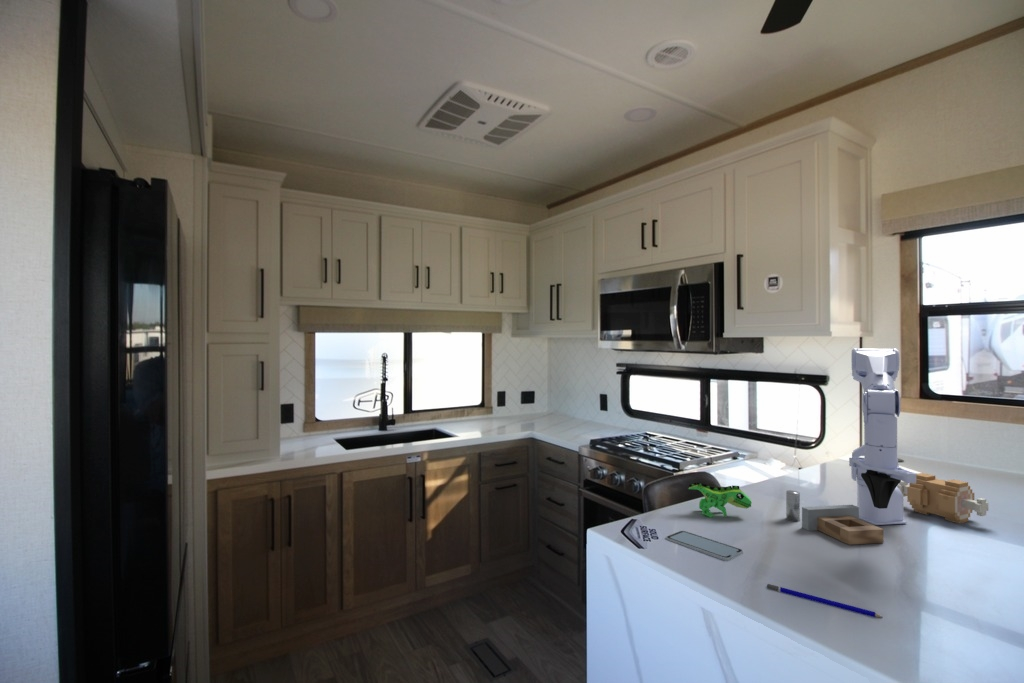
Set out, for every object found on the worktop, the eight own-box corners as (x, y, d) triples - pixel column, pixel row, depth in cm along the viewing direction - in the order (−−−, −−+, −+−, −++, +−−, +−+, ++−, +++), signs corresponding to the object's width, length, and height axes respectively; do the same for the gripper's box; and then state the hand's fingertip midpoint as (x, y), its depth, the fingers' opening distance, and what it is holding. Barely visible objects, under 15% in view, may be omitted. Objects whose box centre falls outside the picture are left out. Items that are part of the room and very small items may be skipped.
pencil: (766, 589, 89) (766, 584, 89) (767, 588, 90) (767, 582, 90) (883, 621, 79) (883, 615, 79) (882, 619, 80) (882, 612, 80)
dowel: (793, 517, 127) (793, 490, 127) (802, 521, 124) (802, 493, 124) (783, 517, 126) (783, 490, 126) (791, 521, 123) (792, 494, 123)
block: (850, 527, 119) (850, 515, 119) (883, 542, 110) (883, 529, 110) (817, 529, 118) (817, 517, 118) (848, 544, 109) (848, 531, 109)
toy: (742, 531, 124) (757, 495, 124) (683, 506, 127) (697, 470, 127) (737, 523, 130) (751, 488, 130) (680, 499, 133) (693, 465, 133)
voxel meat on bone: (912, 503, 139) (912, 468, 139) (994, 525, 122) (994, 485, 122) (890, 508, 135) (890, 471, 135) (973, 530, 118) (973, 489, 118)
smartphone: (682, 530, 116) (744, 550, 105) (682, 533, 116) (744, 554, 105) (664, 537, 112) (727, 558, 100) (664, 540, 112) (727, 563, 100)
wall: (852, 524, 122) (852, 504, 122) (858, 527, 120) (858, 507, 120) (801, 527, 119) (802, 507, 119) (808, 530, 117) (808, 509, 117)
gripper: (837, 439, 113) (837, 497, 113) (894, 452, 98) (894, 520, 98) (864, 438, 114) (864, 496, 114) (925, 451, 99) (925, 518, 99)
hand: (880, 507), depth 106 cm, fingers closed
